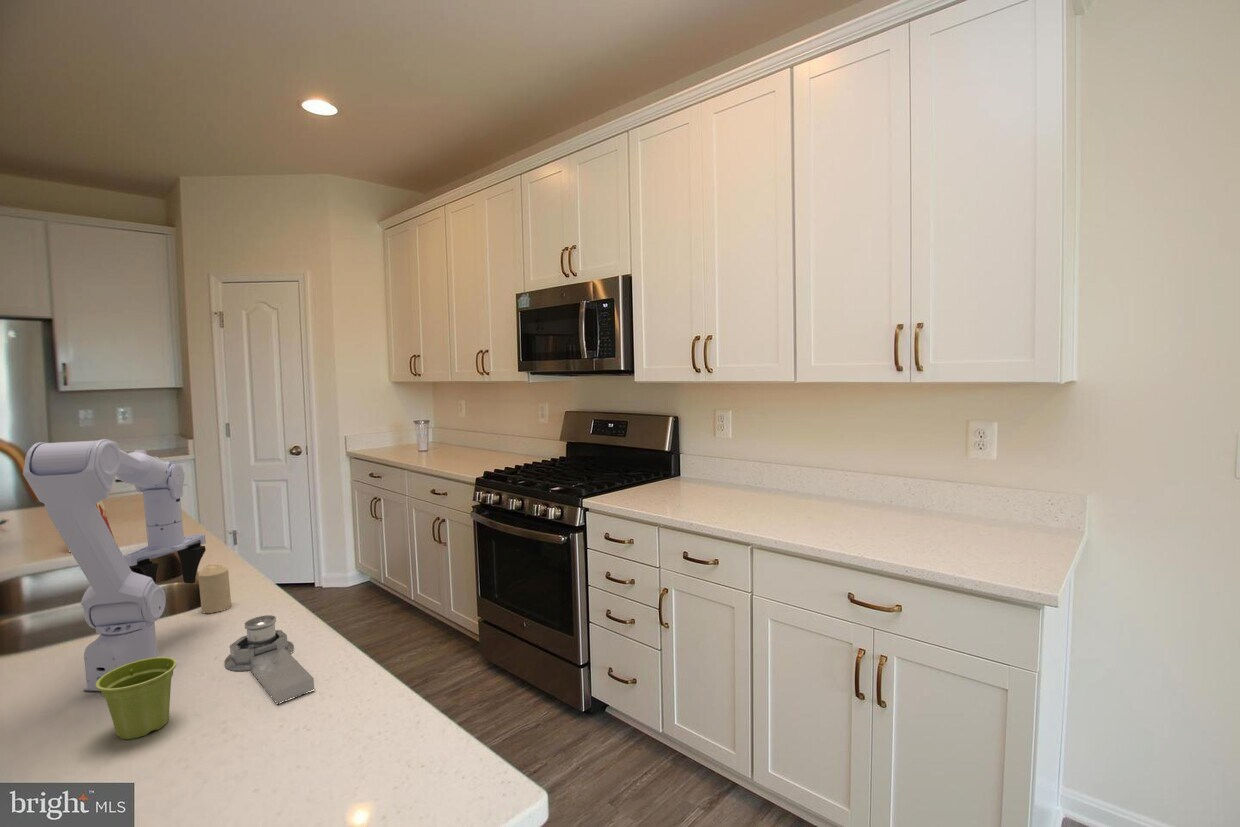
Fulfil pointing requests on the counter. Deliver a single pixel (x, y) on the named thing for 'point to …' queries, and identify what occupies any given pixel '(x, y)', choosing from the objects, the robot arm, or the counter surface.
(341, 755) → the counter surface
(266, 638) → the metal knob
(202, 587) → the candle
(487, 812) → the counter surface
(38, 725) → the counter surface
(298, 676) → the grey piece
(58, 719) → the counter surface
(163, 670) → the plant pot
